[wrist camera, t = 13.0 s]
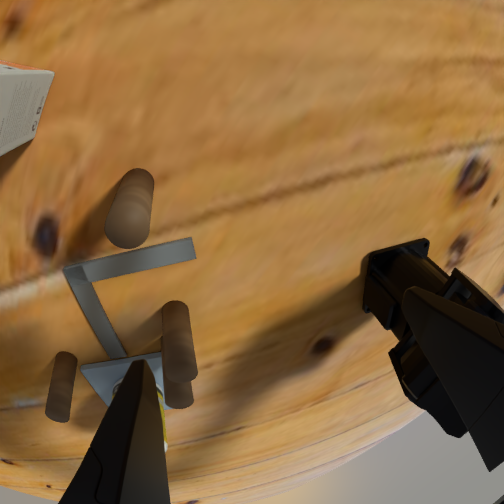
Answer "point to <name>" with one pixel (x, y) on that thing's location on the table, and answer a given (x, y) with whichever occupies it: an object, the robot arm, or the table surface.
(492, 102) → the table surface
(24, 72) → the skincare box
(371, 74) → the table surface
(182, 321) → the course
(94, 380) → the pad
